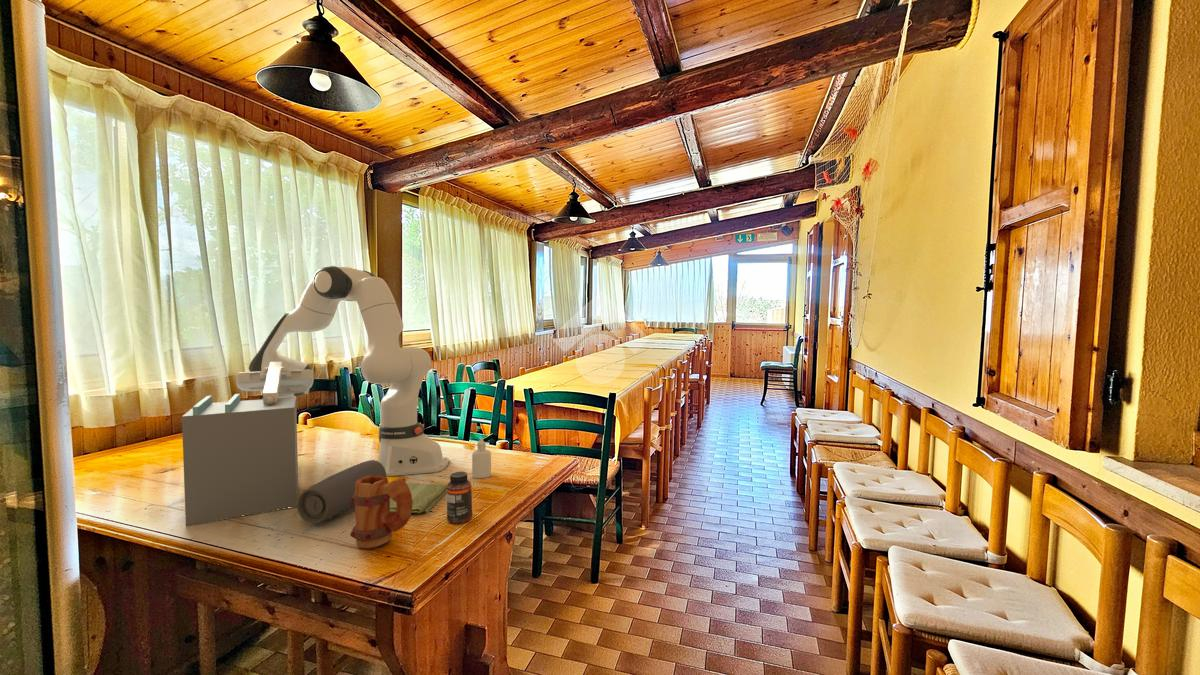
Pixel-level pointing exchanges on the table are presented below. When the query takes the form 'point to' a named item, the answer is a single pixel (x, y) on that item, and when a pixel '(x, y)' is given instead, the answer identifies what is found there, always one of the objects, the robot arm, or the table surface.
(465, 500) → the supplement bottle
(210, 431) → the stand
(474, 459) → the eye dropper bottle
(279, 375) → the bar
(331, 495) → the bluetooth speaker
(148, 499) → the table surface
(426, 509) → the washcloth
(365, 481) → the mug
